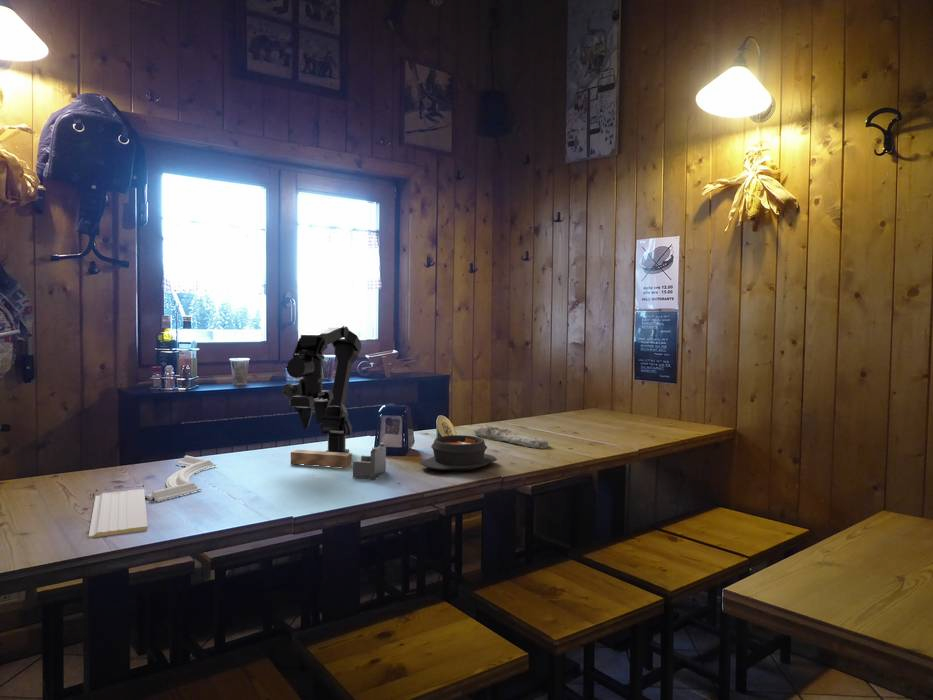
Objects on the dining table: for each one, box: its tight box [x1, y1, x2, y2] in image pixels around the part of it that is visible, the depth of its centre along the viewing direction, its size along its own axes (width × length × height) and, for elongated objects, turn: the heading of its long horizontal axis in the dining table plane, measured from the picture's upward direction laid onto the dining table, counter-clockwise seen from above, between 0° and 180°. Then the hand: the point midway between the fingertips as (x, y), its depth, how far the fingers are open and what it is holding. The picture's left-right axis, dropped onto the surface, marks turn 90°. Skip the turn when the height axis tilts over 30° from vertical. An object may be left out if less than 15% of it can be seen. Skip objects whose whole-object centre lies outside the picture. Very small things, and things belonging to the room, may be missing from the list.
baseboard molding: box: [87, 484, 149, 539], centre depth 141 cm, size 31×3×12 cm
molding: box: [145, 455, 217, 503], centre depth 170 cm, size 42×12×3 cm, turn 14°
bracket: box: [352, 442, 387, 481], centre depth 178 cm, size 10×7×9 cm
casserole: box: [419, 434, 498, 472], centre depth 189 cm, size 25×19×8 cm
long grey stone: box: [473, 424, 549, 450], centre depth 231 cm, size 35×5×10 cm
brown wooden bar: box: [290, 449, 353, 469], centre depth 189 cm, size 18×4×4 cm, turn 78°
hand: (312, 426), depth 189 cm, fingers open, 9 cm apart
